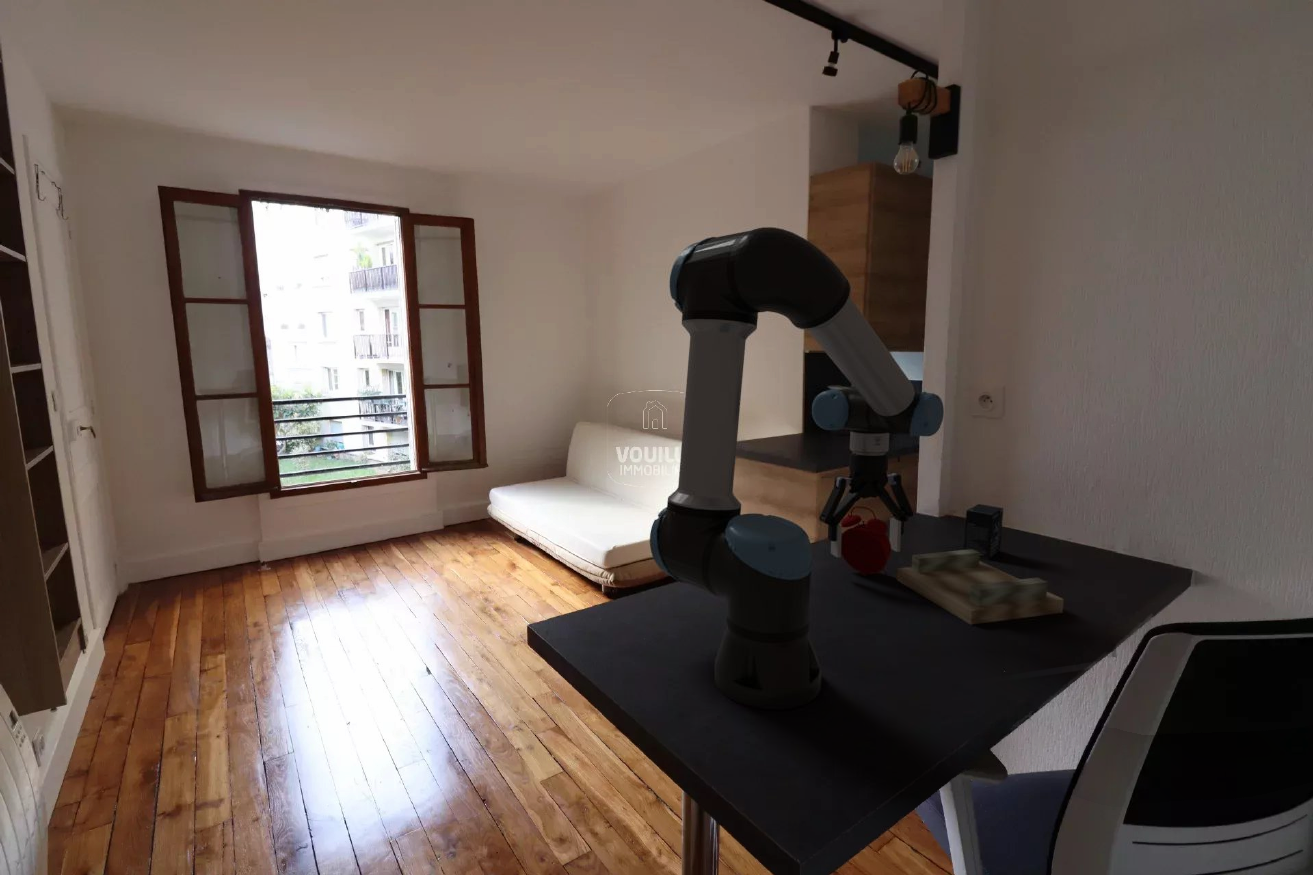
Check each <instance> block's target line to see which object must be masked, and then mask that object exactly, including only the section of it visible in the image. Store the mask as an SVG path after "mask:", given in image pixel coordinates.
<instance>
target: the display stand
mask: <svg viewBox="0 0 1313 875" xmlns="http://www.w3.org/2000/svg"><path fill="white" fill-rule="evenodd" d="M980 559H981V558H980V552H978V551H975V550H973V549H968V550H964V549H959V550H951V551H950V550H949V551H940V552H939V551H938V552H931V553H929V552H928V553H921V554H920V553H919V554H912V557H911V566H908V567H907V566H906V567H900V568H899V567H898V568H897V569H896V581H897V582H899V583H901V584H903V585H904V586H905V587H907V588H909V589H911V590H912V591H914V592H916V593H917V594H919V595H921V596H923V597H924V598H925V599H927V600H929V601H930V602H933V603H934V604H935V605H937V606H939V607H940V608H942V609H944V610H946V611H947V612H949V613H950V614H952V615H954V616H955V617H957V618H959V619H961V620H962V621H963V622H965V623H967V624H969V625H970V626H972V625H979V624H980V625H981V624H985V623H994V622H1001V621H1009V620H1015V619H1016V620H1017V619H1024V618H1031V617H1040V616H1046V615H1054V614H1062V613H1063V611H1064V600H1065V599H1064V598H1062V597H1060V596H1057V595H1056V594H1053V593H1051V592H1049V591H1048V581H1046V580H1044V579H1041V578H1040V577H1032V578H1031V577H1030V578H1022V579H1020V578H1018V577H1015V576H1013V575H1011V574H1009V573H1006V572H1004V571H1003V570H1000V569H998V568H996V567H994V566H991V565H990V564H986V562H983V561H981V560H980Z"/></svg>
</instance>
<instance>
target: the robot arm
mask: <svg viewBox="0 0 1313 875" xmlns="http://www.w3.org/2000/svg"><path fill="white" fill-rule="evenodd" d="M669 293H670V296H671V299H672V300H674V306H675V307H676V309H677V310H678V312H680V313H681V314H682V315H681V325H682V327H684V329H685V330H686V332H687V333H688V334H689V348H688V361H687V372H686V373H687V374H686V375H687V376H686V383H685V384H686V385H685V386H686V387H685V388H686V389H685V398H684V409H683V410H684V412H683V421H682V422H683V424H682V435H681V436H682V438H681V450H680V459H679V460H680V462H679V473H678V484H677V485H678V486H677V488H676V490H675V491H673V492H672V493H671V494H670V495H669V496H667V501H666V503H667V504H666V507H664V508H663V509H662V510H661V511H660V512H659V513H658V514H657V516H658V517H657V519H654V521H653V522H652V525H651V527H650V528H651V529H650V534H649V547H650V553H651V555H652V559H653V560H654V562H655V564H656V566H658V568H659V569H660V570H661V571H662V572H663V573H664V574H667V575H668V576H670V577H672V578H673V579H674V580H676V581H677V582H679V583H683V584H685V585H689V586H692V587H694V588H697V589H699V590H701V591H704V592H706V593H709V594H710V595H712V596H715V597H718V598H721V599H723V600H725V602H726V626H725V631H724V634H723V636H722V637H723V638H722V639H721V642H720V645H719V649H718V650H717V655H716V657H715V660H714V682H715V685H716V687H717V689H719V691H720V692H721V693H722V694H724V695H725V696H727V698H729V699H730V700H732V701H735V702H737V703H739V704H741V705H744V706H747V707H751V708H754V709H755V708H756V709H762V710H774V711H777V710H779V711H781V710H788V709H789V710H790V709H794V708H798V707H802V706H805V705H807V704H808V703H811V701H813V700H815V699H816V697H818V695H819V693H820V692H821V688H822V670H821V666H820V663H819V659H818V657H817V653H816V650H815V647H814V645H813V641H812V638H811V634H810V617H811V616H810V615H811V614H810V613H811V581H812V580H811V579H812V570H813V559H812V556H811V555H812V554H811V551H812V550H811V540H810V538H809V534H808V533H807V532H806V531H805V529H803V527H801V526H800V525H798V524H797V523H796V522H793V521H791V520H789V519H786V518H784V517H780V516H776V515H773V514H769V515H767V514H766V515H765V514H763V513H756V512H755V513H751V512H750V513H743V514H741V512H742V503H741V502H740V501H739V499H738V498H737V497H736V496H735V495H734V491H733V490H734V479H735V469H736V459H737V458H736V456H737V444H738V435H739V422H740V410H741V401H742V400H741V399H742V386H743V375H744V364H745V354H746V343H747V342H746V341H747V339H748V338H749V337H750V336H751V335H752V334H753V333H755V331H756V330H757V329H758V319H759V313H765V312H769V313H776V314H779V315H781V316H783V317H785V318H787V319H788V320H789V321H790V322H791V324H792V325H793V326H794V327H795V328H797V329H800V330H805V331H807V332H808V333H809V334H810V335H811V336H812V337H813V339H814V340H815V341H816V343H817V344H818V345H819V346H820V348H822V350H823V351H824V352H825V354H826V355H827V356H828V357H829V358H830V360H832V362H833V363H834V364H835V365H836V367H837V368H838V369H839V370H840V372H841V373H842V374H843V375H844V377H845V378H846V379H847V380H848V381H849V383H850V384H851V385H850V386H851V387H850V388H838V389H835V388H831V389H829V390H824V391H822V392H820V393H819V394H817V395H816V396H815V397H814V399H813V402H812V405H811V415H812V419H813V421H814V423H815V424H816V425H817V426H818V427H820V428H821V429H823V430H826V431H839V430H850V435H849V436H850V437H849V450H850V451H851V452H850V454H849V466H848V468H849V476H848V477H842V476H839V475H838V476H835V477H834V484H833V488H832V490H831V492H830V494H829V496H828V498H827V500H826V503H825V504H824V507H823V509H822V511H821V513H820V515H819V518H818V520H819V521H820V522H822V523H824V524H825V525H827V539H828V540H829V541H830V554H831V555H832V556H834V557H836V558H838V559H839V558H840V559H841V558H842V555H841V535H842V534H843V532H842V530H843V529H842V528H843V527H842V526H841V521H842V520H843V519H844V518H845V517H846V516H847V515H848V514H849V511H851V510H852V508H853V506H854V505H855V504H856V503H857V502H859V501H860V499H868V498H877V497H878V498H879V499H880V501H881V503H883V504H884V506H885V507H886V508H887V509H888V511H889V512H890V514H891V515H892V516H893V517H891V518H889V537H888V539H889V541H890V544H891V551H894V552H896V553H899V552H901V536H903V535H904V530H905V528H904V527H905V523H906V522H908V520H909V518H912V517H913V516H914V511H913V509H912V506H911V504H910V501H909V498H908V496H907V495H906V492H905V489H904V488H903V485H902V476H901V475H900V474H898V473H895V472H890V473H889V474H887V473H888V471H889V458H890V457H889V454H888V451H889V448H890V447H889V446H890V434H893V435H901V436H910V437H932V436H933V435H935V434H936V433H938V431H939V430H940V428H941V425H942V423H943V419H944V416H945V414H944V413H945V408H944V403H943V400H942V399H941V396H939V395H938V394H937V393H932V392H927V391H921V392H920V391H918V390H917V389H916V387H915V386H914V384H913V383H912V382H911V381H910V379H909V378H908V376H907V375H906V373H905V372H904V371H903V370H902V368H901V366H900V364H898V362H897V361H896V360H895V357H894V356H893V355H892V354H891V352H890V351H889V349H888V348H887V347H886V346H885V344H884V343H883V341H882V340H881V338H880V336H878V334H877V333H876V332H875V330H874V329H873V327H872V326H871V324H870V323H869V321H868V320H867V319H866V317H865V316H864V314H863V313H862V312H861V311H860V308H859V307H858V306H857V304H856V303H855V302H854V301H853V299H852V298H851V294H852V287H851V284H850V282H849V280H848V279H847V277H846V275H844V272H842V271H841V269H840V267H839V266H838V265H837V264H836V263H835V262H834V261H833V260H832V259H831V258H830V256H828V255H827V254H826V253H825V252H823V251H822V250H821V249H819V248H818V247H817V246H816V245H815V244H813V243H812V242H811V241H809V240H807V239H806V238H804V237H802V236H800V235H798V234H797V233H794V232H792V231H789V230H786V229H783V228H779V227H773V226H772V227H771V226H770V227H769V226H767V227H765V226H764V227H757V228H754V229H752V230H746V231H742V232H737V233H736V232H735V233H732V234H731V233H730V234H727V235H721V236H717V237H716V236H712V237H707V238H704V239H702V240H700V241H697V242H694V243H692V244H690V245H688V246H687V247H686V248H684V249H683V250H682V251H681V252H680V253H679V254H678V256H677V257H676V259H675V261H674V262H673V264H672V268H671V270H670V276H669ZM887 484H888V485H889V487H890V489H891V491H892V493H893V496H894V498H895V500H896V502H895V500H893V498H892V497H891V496H890V494H891V493H889V491H888V490H887V489H886V488H885V487H886V486H887ZM848 486H849V489H848V490H847V491H846V492H845V490H846V489H847V488H848ZM844 493H845V496H844ZM843 496H844V497H843ZM842 498H843V499H842Z"/></svg>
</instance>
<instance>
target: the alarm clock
mask: <svg viewBox="0 0 1313 875" xmlns="http://www.w3.org/2000/svg"><path fill="white" fill-rule="evenodd" d="M857 508H858V509H859V508H860V509H866V510H868V511H870V512H871V513H872V515H873V518H870V519H867V521H865V520H862V517H861V516H860V515H858V514H853V511H854V509H857ZM861 522H862V523H861ZM865 522H866V523H865ZM860 523H861V524H860ZM840 526H841V527H842V528H848V529H846V530H845V531H844V532H842V535H841V557H842V558H843V560H844V561H845V562H846V564H848V565H849V566H850V567H851V568H852V569H854V570H855V571H857V572H860V573H861V574H860V575H861V576H863V577H866V576H867V575H875V574H878V573H880V572H881V571H883V572H884V573H885V574H884V575H888V572H887V571H886V570H885V568H886V565H887V564H888V560H889V558H890V557H891V553H892V549H891V544H890V541H889V536H887V535H886V534H887V533H888V530H889V527H888V523H887V522H885V521H884V520H882V519H879V518H877V517H876V514H875V513H874V511H873V510H872V509H870V508H868V507H865V506H857V505H856V506H854V507H852V508H851V509H850V514H849V513H847V515H846V516H844V518H843V519H842V520H841V522H840ZM853 526H854V527H853ZM850 527H851V528H850Z"/></svg>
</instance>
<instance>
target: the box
mask: <svg viewBox="0 0 1313 875" xmlns="http://www.w3.org/2000/svg"><path fill="white" fill-rule="evenodd" d="M1003 517H1004V507H999V506H992V505H987V504H981V503H978V504H976V505H974V506H972V507H971V508H968V509H966V513H965V524H964V526H965V527H964V538H963V539H964V540H963V550H968V549H973V550H975V551H978V552H980V558H979V559H983V560H988V561H989V559H992V558H993V557H995V555H997V554H998V553H1000V552H1001V547H1002V546H1001V544H1002V531H1003Z"/></svg>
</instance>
